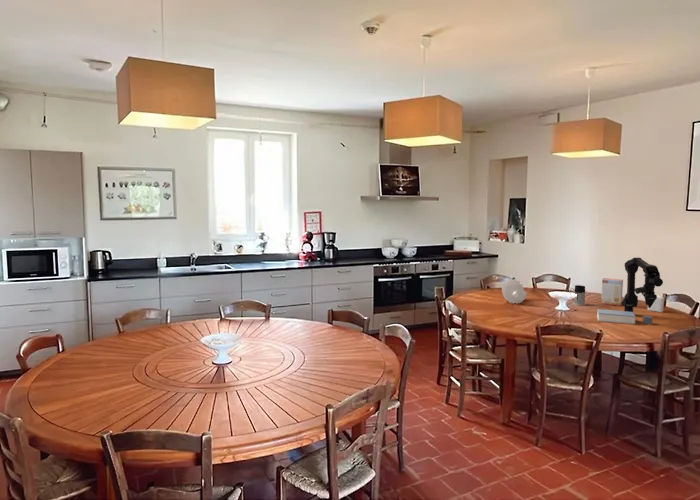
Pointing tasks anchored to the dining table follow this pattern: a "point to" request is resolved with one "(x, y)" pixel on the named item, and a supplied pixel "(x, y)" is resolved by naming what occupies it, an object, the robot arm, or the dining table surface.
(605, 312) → the box lid
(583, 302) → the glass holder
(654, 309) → the photo printer
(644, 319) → the block
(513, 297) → the white rounded lump
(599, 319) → the storage box
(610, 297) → the cracker box
